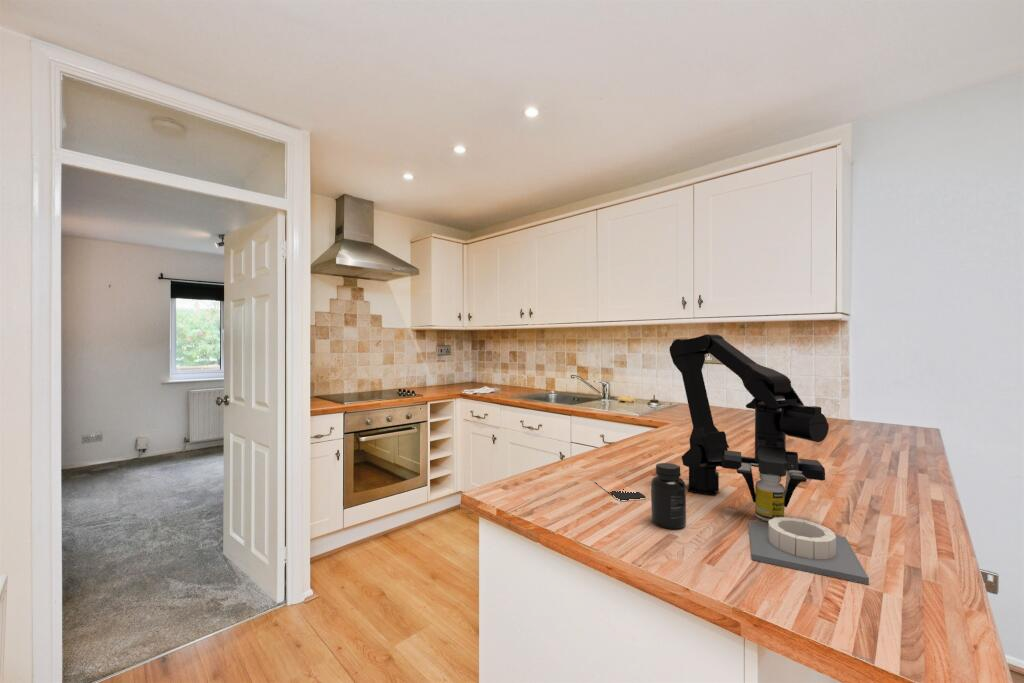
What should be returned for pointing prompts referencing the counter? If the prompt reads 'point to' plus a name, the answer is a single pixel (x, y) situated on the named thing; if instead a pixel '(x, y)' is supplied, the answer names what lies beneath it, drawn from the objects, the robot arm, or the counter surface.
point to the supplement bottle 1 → (668, 497)
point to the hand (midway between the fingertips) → (769, 504)
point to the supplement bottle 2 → (769, 497)
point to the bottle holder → (805, 548)
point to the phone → (627, 495)
